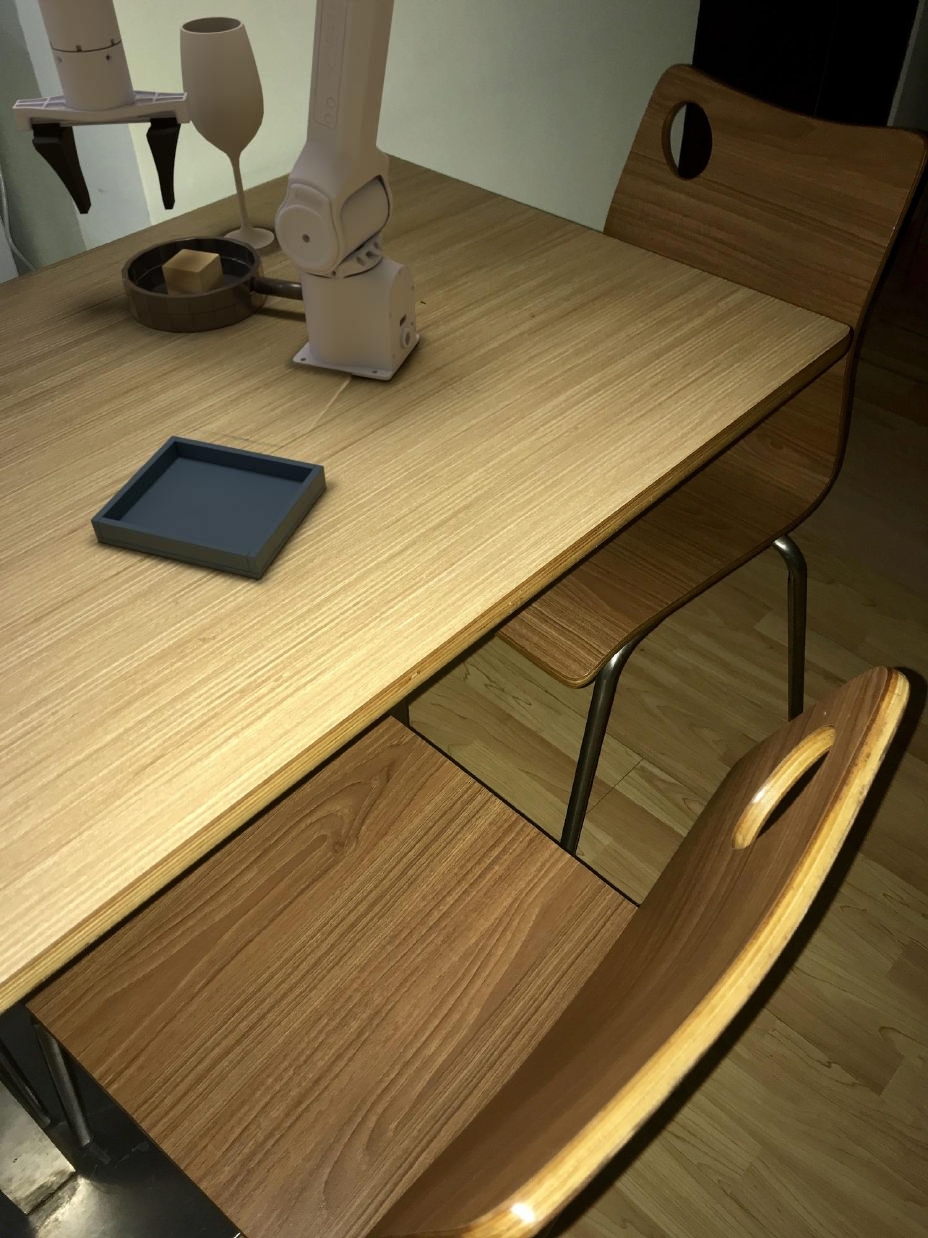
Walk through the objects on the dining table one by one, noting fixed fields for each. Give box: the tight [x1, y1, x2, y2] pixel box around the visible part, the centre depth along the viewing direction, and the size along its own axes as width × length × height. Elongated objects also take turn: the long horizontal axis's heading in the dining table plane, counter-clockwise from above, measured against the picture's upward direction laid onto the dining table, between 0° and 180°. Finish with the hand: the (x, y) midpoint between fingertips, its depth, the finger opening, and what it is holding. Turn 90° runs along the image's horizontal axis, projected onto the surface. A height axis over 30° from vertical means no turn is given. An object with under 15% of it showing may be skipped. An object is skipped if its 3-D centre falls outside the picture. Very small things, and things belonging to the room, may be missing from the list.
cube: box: [162, 249, 225, 295], centre depth 97 cm, size 4×4×4 cm
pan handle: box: [252, 276, 304, 302], centre depth 94 cm, size 8×2×2 cm, turn 71°
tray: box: [90, 435, 327, 580], centre depth 74 cm, size 13×11×2 cm
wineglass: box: [179, 16, 275, 250], centre depth 101 cm, size 8×8×21 cm
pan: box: [120, 235, 267, 333], centre depth 97 cm, size 13×13×4 cm
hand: (128, 207), depth 91 cm, fingers open, 7 cm apart
